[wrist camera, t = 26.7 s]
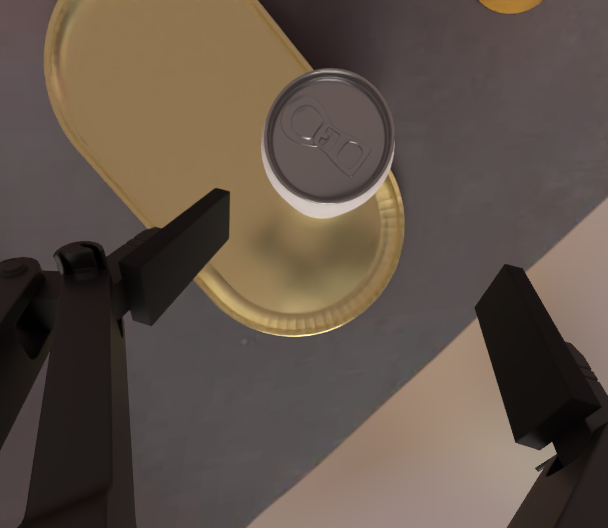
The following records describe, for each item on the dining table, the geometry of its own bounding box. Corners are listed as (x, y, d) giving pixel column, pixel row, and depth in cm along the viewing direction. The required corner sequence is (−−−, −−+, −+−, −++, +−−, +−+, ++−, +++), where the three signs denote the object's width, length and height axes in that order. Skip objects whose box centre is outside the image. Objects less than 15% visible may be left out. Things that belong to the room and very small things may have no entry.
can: (313, 120, 24) (313, 22, 13) (378, 169, 25) (437, 119, 13) (266, 187, 25) (224, 155, 13) (329, 234, 26) (343, 244, 14)
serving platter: (171, -99, 24) (162, -121, 23) (443, 241, 27) (451, 242, 25) (14, 69, 26) (-5, 60, 25) (282, 369, 29) (280, 378, 27)
